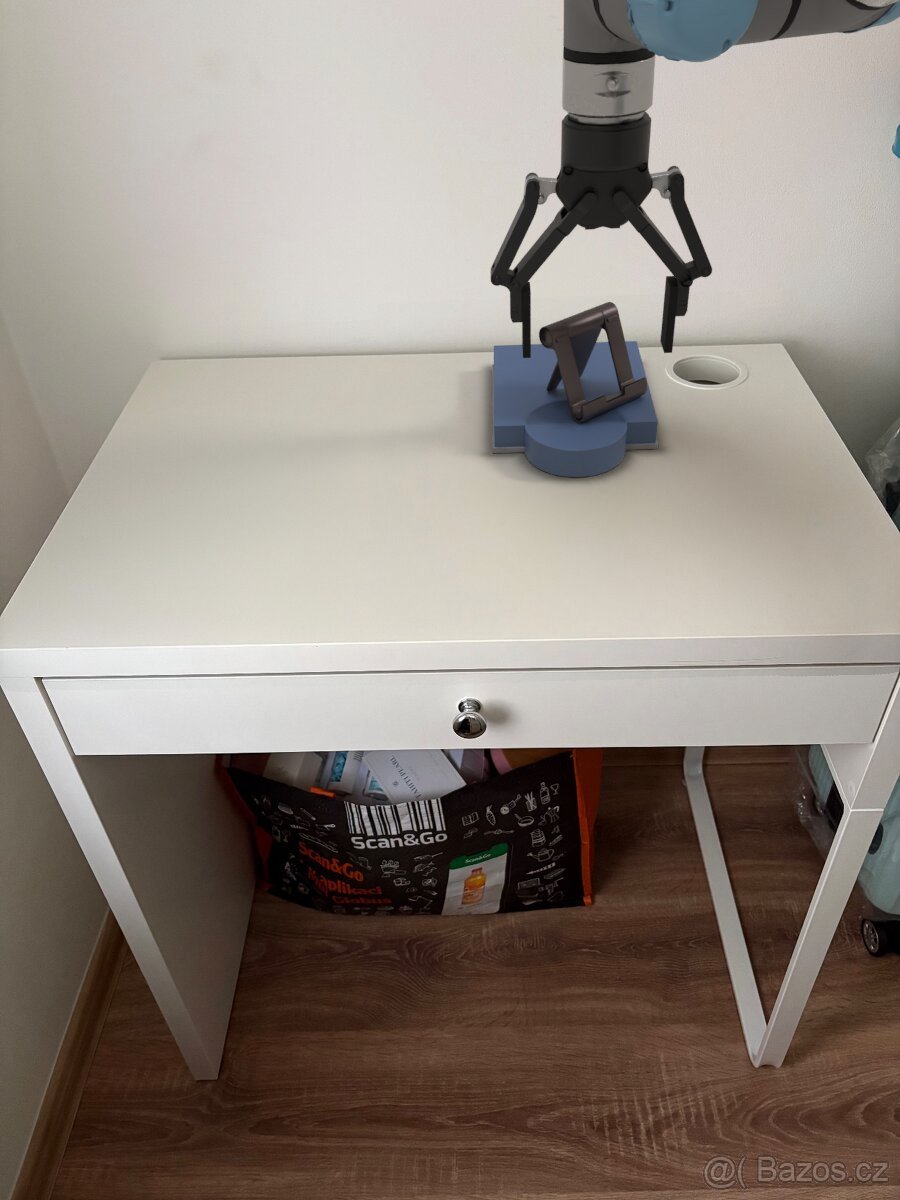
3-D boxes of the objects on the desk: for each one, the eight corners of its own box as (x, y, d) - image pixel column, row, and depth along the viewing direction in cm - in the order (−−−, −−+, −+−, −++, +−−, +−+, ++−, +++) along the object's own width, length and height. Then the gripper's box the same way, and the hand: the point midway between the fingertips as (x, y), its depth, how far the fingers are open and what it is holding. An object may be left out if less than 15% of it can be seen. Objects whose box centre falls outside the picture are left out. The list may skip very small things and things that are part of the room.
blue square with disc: (664, 475, 92) (667, 448, 90) (492, 479, 93) (492, 452, 91) (636, 364, 110) (638, 340, 108) (492, 369, 111) (491, 344, 109)
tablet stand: (581, 427, 94) (585, 347, 89) (529, 398, 99) (529, 320, 94) (646, 398, 98) (653, 319, 92) (592, 371, 103) (596, 295, 97)
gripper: (457, 131, 79) (468, 371, 92) (767, 116, 78) (732, 361, 91) (459, 109, 85) (469, 337, 98) (748, 95, 83) (718, 328, 97)
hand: (596, 349), depth 95 cm, fingers open, 13 cm apart
